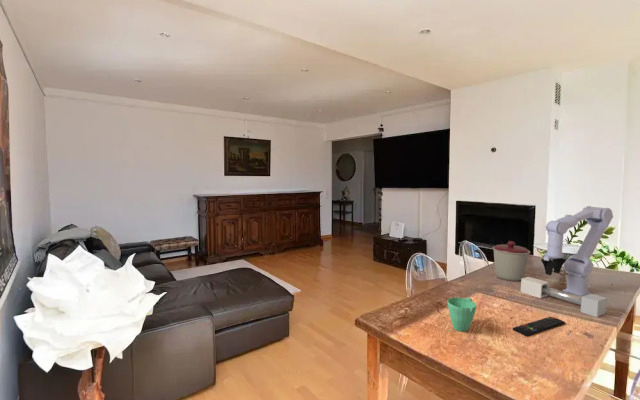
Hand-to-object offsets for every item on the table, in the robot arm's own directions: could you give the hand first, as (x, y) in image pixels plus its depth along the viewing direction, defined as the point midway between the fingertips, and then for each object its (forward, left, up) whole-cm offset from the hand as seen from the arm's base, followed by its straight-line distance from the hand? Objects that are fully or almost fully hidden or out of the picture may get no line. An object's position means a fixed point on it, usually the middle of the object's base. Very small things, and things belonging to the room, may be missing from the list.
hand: (552, 273), depth 151 cm
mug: (+67, +1, -11) cm, 68 cm away
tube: (+7, +8, -9) cm, 14 cm away
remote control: (+41, +15, -11) cm, 45 cm away
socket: (+7, +19, -10) cm, 23 cm away
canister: (-6, -24, -11) cm, 27 cm away
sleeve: (+7, -4, -10) cm, 13 cm away
